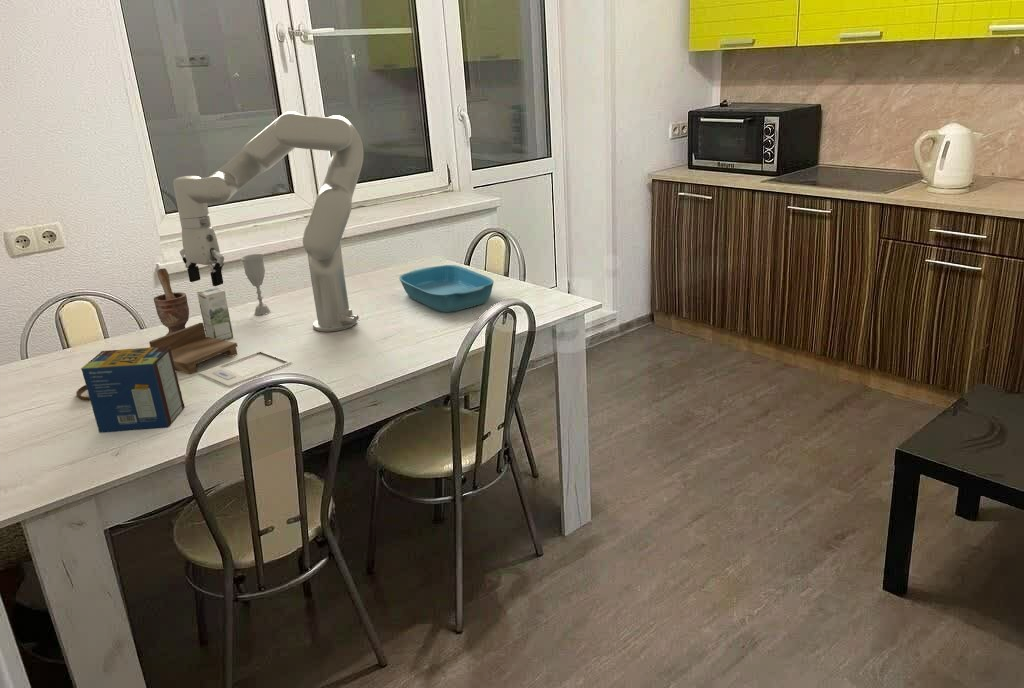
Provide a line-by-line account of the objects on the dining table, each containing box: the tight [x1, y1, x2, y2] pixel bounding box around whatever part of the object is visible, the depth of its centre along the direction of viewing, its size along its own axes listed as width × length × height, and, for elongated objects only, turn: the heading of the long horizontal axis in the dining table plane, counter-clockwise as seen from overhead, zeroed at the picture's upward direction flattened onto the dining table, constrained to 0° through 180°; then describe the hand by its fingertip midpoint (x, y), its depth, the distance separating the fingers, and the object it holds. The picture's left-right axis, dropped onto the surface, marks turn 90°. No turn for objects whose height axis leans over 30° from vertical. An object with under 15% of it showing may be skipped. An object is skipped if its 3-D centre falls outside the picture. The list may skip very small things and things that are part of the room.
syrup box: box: [196, 286, 234, 341], centre depth 218 cm, size 6×6×14 cm
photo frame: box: [198, 350, 293, 388], centre depth 197 cm, size 15×1×18 cm
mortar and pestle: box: [153, 268, 190, 336], centre depth 219 cm, size 12×9×20 cm
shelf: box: [148, 322, 238, 375], centre depth 204 cm, size 14×16×7 cm
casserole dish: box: [398, 264, 494, 313], centre depth 243 cm, size 37×22×7 cm, turn 32°
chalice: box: [240, 253, 271, 316], centre depth 238 cm, size 7×7×18 cm
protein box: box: [80, 346, 185, 434], centre depth 169 cm, size 10×15×16 cm
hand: (206, 282), depth 214 cm, fingers open, 9 cm apart
